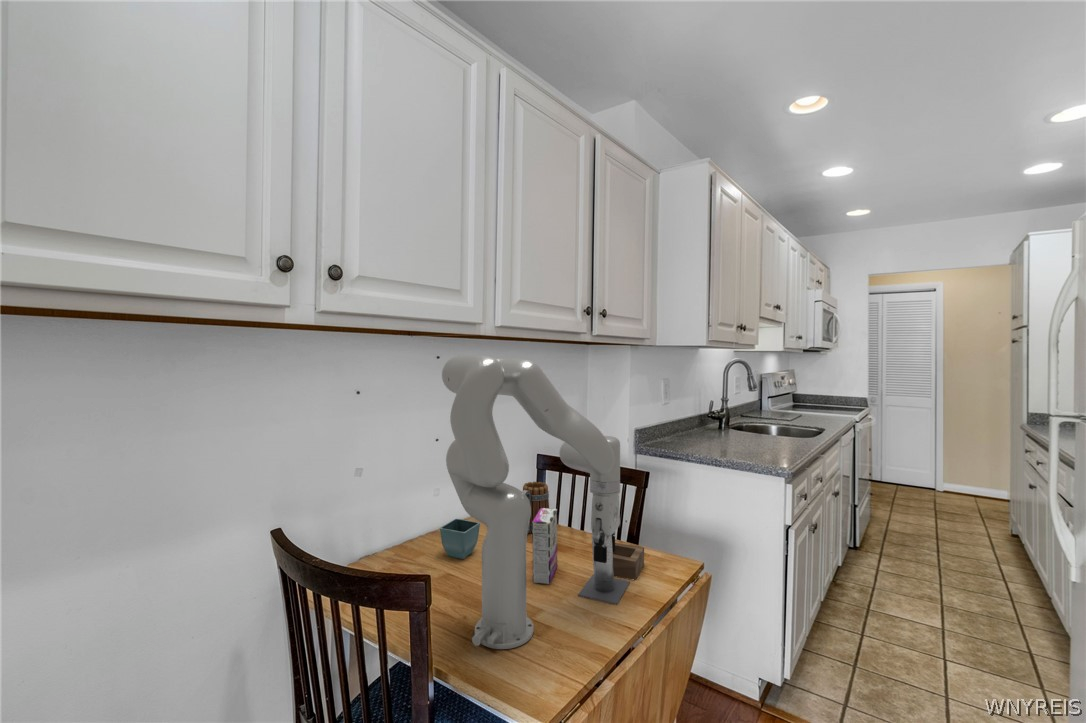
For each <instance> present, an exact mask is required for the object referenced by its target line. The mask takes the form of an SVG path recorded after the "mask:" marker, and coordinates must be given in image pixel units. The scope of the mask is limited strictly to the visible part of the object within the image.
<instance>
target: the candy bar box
mask: <svg viewBox="0 0 1086 723" xmlns="http://www.w3.org/2000/svg"><path fill="white" fill-rule="evenodd" d="M557 511H558V509H557V508H550V507H549V508H541V509H540V510H539V512H538V514H537V515H536V517H535V518H534V520H533V522H532V534H531V537H532V583H533V584H537V583H540V585H551V584H552V581H553V578H554V575H555V573H556V570H557V568H558V515H557V513H558V512H557Z"/></svg>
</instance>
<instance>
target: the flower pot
mask: <svg viewBox="0 0 1086 723" xmlns="http://www.w3.org/2000/svg"><path fill="white" fill-rule="evenodd" d="M480 525H481V522H480V521H473V520H468V519H467V520H466V519H463V518H462V519H461V518H454V519H452V520H451V521H449V522H448V523H446V524H444V525H442V526H440V527H439V533H440V538H441V539H440V540H441V544H442V547H443V549H444V551H445V553H446V555H447V556H448V557H451V558H456V559H459V560H463V559H465V558H466V557H468V556H469V555H470V554H472V553H473V552H474V550H475V548H476V546H477V543H478V539H479V534H480V527H481V526H480Z"/></svg>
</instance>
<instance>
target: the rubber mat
mask: <svg viewBox="0 0 1086 723" xmlns="http://www.w3.org/2000/svg"><path fill="white" fill-rule="evenodd" d="M630 584H631V581H630V580H627V579H626V580H625V579H620V578H615V577H614V590H612V591H610V592H599V591H597V590H596V589H595V586H594V573H593V574H592V575H591V576H590V578H589V579H588V580H587V582H586V583H585V584H584V586H582V588H581V590H580V591H579V592H578V593H577V597H580V598H585V599H590V600H594V601H597V602H603V603H607V604H612V605H615V604H616V606H618V604H620V603H619V602H620V601H621V599H622V598H623V596H624V594H625V593H626V591H625V590H628V587H629V585H630ZM621 597H622V598H621Z"/></svg>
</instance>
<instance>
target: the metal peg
mask: <svg viewBox="0 0 1086 723" xmlns="http://www.w3.org/2000/svg"><path fill="white" fill-rule="evenodd" d="M600 533H603V534H604V531H600ZM600 538H601V539H602V541H603V536H600ZM591 544H592V545H591V548H592V566H593V574H594V586H595V589H596V590H597V591H599V592H610V591H612V590H614V578H615V576H614V570H613V552H612V535H611V536H608V535H607V537H606V546H607V562H606V563H601V562H596V561H594V540H593V533H592V532H591Z"/></svg>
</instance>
